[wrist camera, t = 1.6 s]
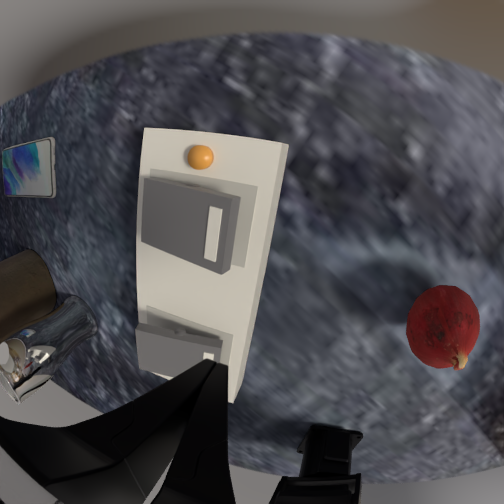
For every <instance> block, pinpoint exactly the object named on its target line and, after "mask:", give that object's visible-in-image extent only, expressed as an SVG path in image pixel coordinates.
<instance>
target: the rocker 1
mask: <svg viewBox="0 0 504 504" xmlns="http://www.w3.org/2000/svg"><path fill="white" fill-rule="evenodd" d="M240 200H241V197H239V196H235V195H231V194H227V193H223V192H219V191H215V190H211V189H206V188H202V187H201V186H200V185H196V184H185V183H180V182H176V181H171V180H166V179H162V178H157V177H150V178H144V188H143V204H142V226H141V242H143V243H145V244H148V245H150V246H152V247H155V248H157V249H159V250H162V251H164V252H167V253H169V254H171V255H174V256H176V257H179V258H181V259H183V260H186V261H188V262H191V263H193V264H196V265H198V266H200V267H203V268H205V269H208V270H210V271H213V272H215V273H218V274H220V275H222V274H224V273H226V272H227V271H229V270H230V267H231V260H232V253H233V247H234V240H235V233H236V226H237V220H238V213H239V206H240Z"/></svg>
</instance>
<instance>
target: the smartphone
mask: <svg viewBox="0 0 504 504" xmlns="http://www.w3.org/2000/svg"><path fill="white" fill-rule="evenodd" d="M2 164H3V182H4V193H5V195H6V196H17V197H42V198H54V197H55V195H56V179H55V171H54V170H55V167H54V164H55V139H54V138H53V137H48V138H44V139H40V140H36V141H32V142H28V143H24V144H19V145H17V146H16V145H15V146H12V147H10V148H6V149H4V150H3V152H2Z"/></svg>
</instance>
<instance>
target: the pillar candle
mask: <svg viewBox="0 0 504 504" xmlns="http://www.w3.org/2000/svg"><path fill="white" fill-rule="evenodd" d="M55 304H56V293H55V287H54V284H53V281H52V279H51V276H50V274H49V271H48V268H47V266H46V265H45V263H44V261H43V260H42V259H41V257H40V256H39V255H38V254H37V253H36V252H34V251H33V250H30V249H28V250H25V251H22V252H20V253H18V254H16V255H14V256H12V257H9V258H7V259H5V260H3V261H1V262H0V339H1V338H2V337H3V336H5V335H6V334H7V333H9V332H10V331H12V330H14V329H15V328H17V327H19V326H21V325H23V324H25V323H28V322H30V321H32V320H35V319H37V318H40V317H42V316H44V315H46V314H48V313H49V312H51V311H52V310H53V308H54V306H55Z"/></svg>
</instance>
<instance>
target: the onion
mask: <svg viewBox="0 0 504 504" xmlns="http://www.w3.org/2000/svg"><path fill="white" fill-rule="evenodd" d="M479 330H480V319H479V312H478V309H477V307H476V306H475V304H474V302H473V301H472V299H471V297H470V296H469V295H468V294H467V293H466V292H464V291H463V290H461V289H459V288H458V287H456V286H447V285H439V286H436V287H433V288H429V289H427V290H426V291H425V292H423V293H422V294H421V295H420V296H419V297H417V298H416V300H415V302H414V304H413V306H412V308H411V309H410V311H409V313H408V318H407V328H406V335H407V338H408V342H409V345H410V348H411V350H412V352H413V353H414V354H415V356H416V357H418V358H419V359H420V360H421V361H422V362H423V363H424V364H426V365H429V366H432V367H435V368H448V367H452V366H454V370H461V369H463V368H464V367H465V364H466V362H467V361H468V359H467V356H468V354H469V353H470V352H471V350H472V349H473V347H474V345H475V343H476V340H477V338H478V335H479Z"/></svg>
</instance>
